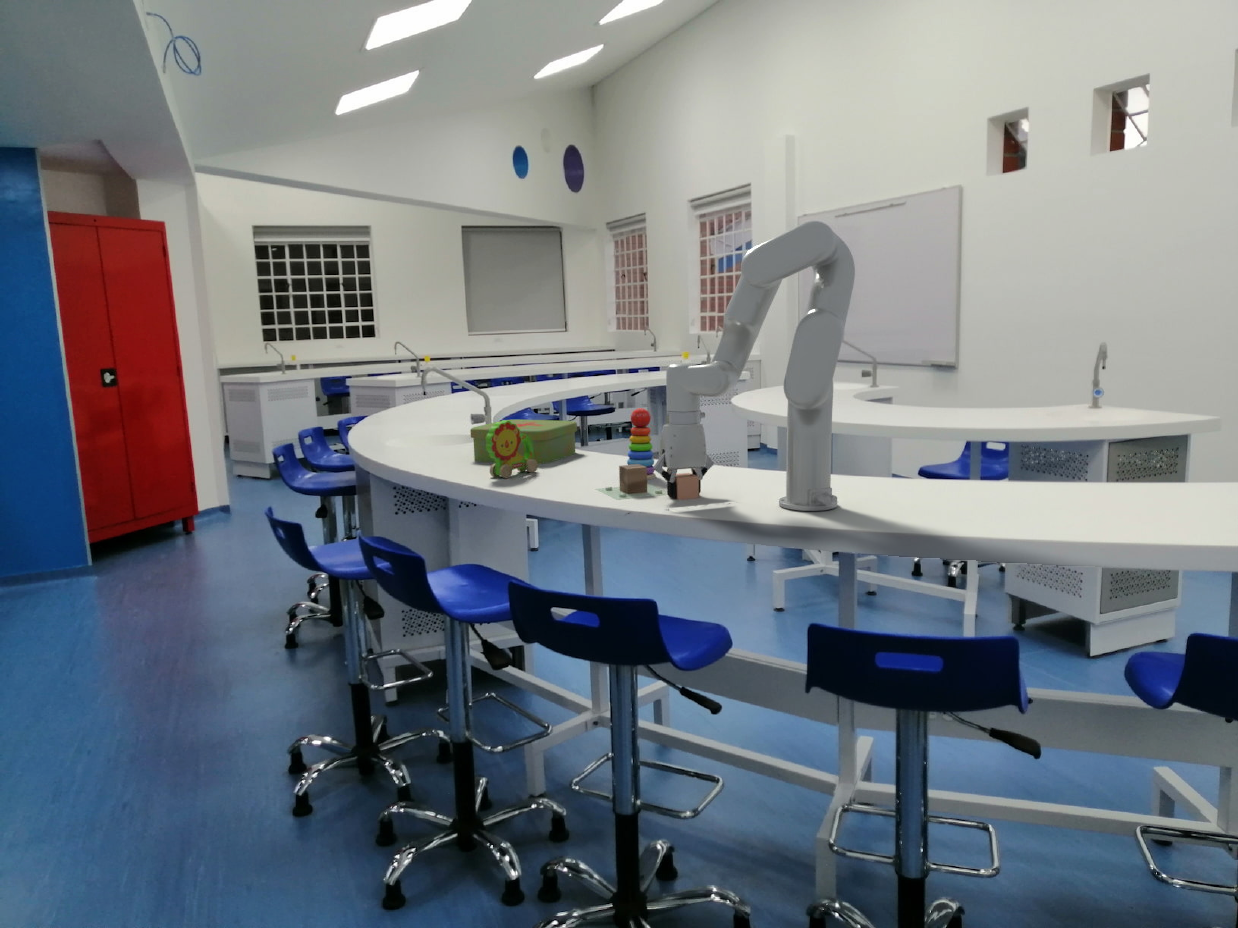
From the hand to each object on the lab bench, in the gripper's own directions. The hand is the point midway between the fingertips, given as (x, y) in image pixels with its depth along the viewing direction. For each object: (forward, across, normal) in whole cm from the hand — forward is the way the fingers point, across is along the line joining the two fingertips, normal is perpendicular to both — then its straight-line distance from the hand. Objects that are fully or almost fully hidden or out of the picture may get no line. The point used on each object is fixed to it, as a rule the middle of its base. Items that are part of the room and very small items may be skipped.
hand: (684, 496), depth 202 cm
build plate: (+1, +8, -11) cm, 14 cm away
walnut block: (0, +8, -11) cm, 14 cm away
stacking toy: (+1, -1, -28) cm, 28 cm away
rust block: (+1, 0, 0) cm, 1 cm away
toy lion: (+1, +27, -52) cm, 59 cm away
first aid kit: (+2, +14, -83) cm, 84 cm away
